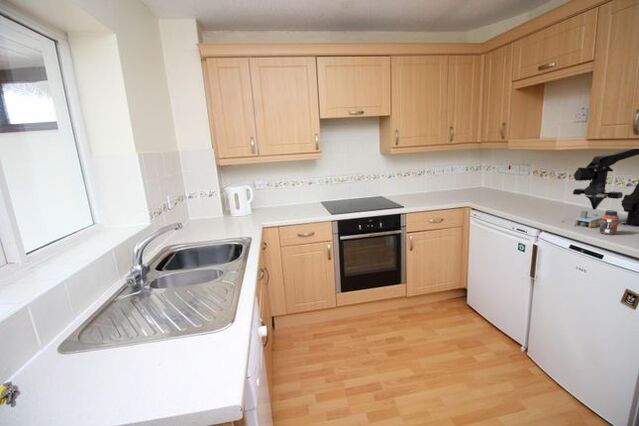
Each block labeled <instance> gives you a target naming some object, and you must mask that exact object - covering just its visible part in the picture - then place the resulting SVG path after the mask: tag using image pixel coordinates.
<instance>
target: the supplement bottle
mask: <svg viewBox="0 0 639 426" xmlns="http://www.w3.org/2000/svg"><path fill="white" fill-rule="evenodd" d="M601 217H602V220H601V225H599V226H600V227H599V233H600V234H601V235H602V234H603V235H607V236H615V235H616V234H617V231H618V226H619V220H620V217H619V215H618V210H614V209H613V210H610V209H606V210H605V213H604V214H602V216H601Z"/></svg>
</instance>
